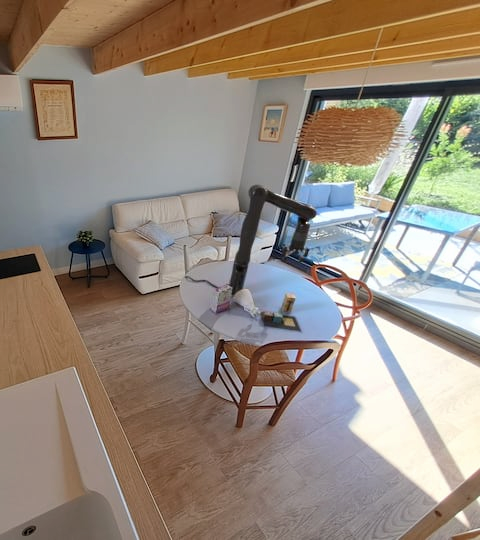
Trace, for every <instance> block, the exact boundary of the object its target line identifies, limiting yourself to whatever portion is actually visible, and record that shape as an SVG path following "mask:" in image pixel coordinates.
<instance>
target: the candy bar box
mask: <svg viewBox="0 0 480 540" xmlns="http://www.w3.org/2000/svg"><path fill="white" fill-rule="evenodd" d="M218 287H219V288H216V287H215V288H214V291H213V297H212V302H211V308H210V310H211V311H212V312H213V313H215V314H219V313H221V312H224V311H226V310H229V309H230V304H231V299H232V296H231V294H232V289H233V288H232V287H231V286H229V285H226V284H224V285H222V286H218Z"/></svg>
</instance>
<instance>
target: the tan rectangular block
mask: <svg viewBox="0 0 480 540" xmlns="http://www.w3.org/2000/svg"><path fill="white" fill-rule="evenodd" d="M296 299H297V298H296V295H295V294H294V293H289V292H288V293H287V292H286V293H285V295H284V298H283V301H282V303H281V306H280V309H281V313H285V314H291V313H292V311H293V307H294V306H295V305H294V304H295V303H296V302H295V301H296Z"/></svg>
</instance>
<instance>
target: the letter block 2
mask: <svg viewBox="0 0 480 540" xmlns="http://www.w3.org/2000/svg"><path fill="white" fill-rule="evenodd" d="M272 315H273V317H272V321H273V322H276V323H281V322H282V319H283V316H282V315H283V314H282V312H278V311H272Z"/></svg>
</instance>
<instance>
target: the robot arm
mask: <svg viewBox="0 0 480 540" xmlns="http://www.w3.org/2000/svg"><path fill="white" fill-rule="evenodd" d="M247 196H248V198H249V207H248V210H247V213H246V215H245V216H244V218H243V221H242V225H241V228H240V235H239V245H238V250H237V251H236V252H235V256H234V260H233V265H232V268H231V269H232V270H231V275H230V279H229V282H228V283H226V284H225V285H229V286H231V287H232V288H233V289H232V294H231V298H233V297H234V295H235V294H236V293H237V292H238V291H240V290H242V289H244V286H245V282H246V278H247V274H248V269H249V265H250V262H251V254H252V248H253V246H254V243H255V240H256V238H257V234H258V230H259V226H260V221H261V217H262V212H263V208H264V206H265V203H268V204H271V205H272V206H273V207H276V208H278V209H279V210H282V211H284V212H287V213H290V214H293V215H296V216H297V221H296V225H295V229H294V232H293V233H292V237H291V240H290V244H289V245H283V247H282V250H281V255H282V256H283V258H282V260H283V261H284V262H287V260H288V256H290V255H292V254H293V255H294V254H296V255H299V258H298V264H301V263H302V262H303V260H304V258H308V256H309V252H310V248H309V247H308V246H306V247H305V245H306V242H307V240H308V237H309V236H308V235H309V232H310V229H311V223H310V220H314V219H315V218H316V217H317V215H318V212H317V209H316V208H314V207H313V206H311V205H310V204H303V203H301V202H299V201H297V200H294V199H292V198H289V197H287V196H283V195H280V194H277V193H276V192H273V191H271V190H269V189H267V188H266V187H264V186H263V185H261V184H253V185H251V186H250V187H249V188H248V190H247ZM303 251H304V254H303V253H302V252H303ZM184 278H188V279H189V280H191V281H192V282H206V283H207V284H209V285H211V286H212V287H214V288H215V289H216V288H219V287H220V286H217V285H215V284H214V283H211V282H210V281H209V280H207V279H199V280H197V279H196V280H195V279H193V278H191V277H190V276H189V275H187V276H184Z"/></svg>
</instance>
